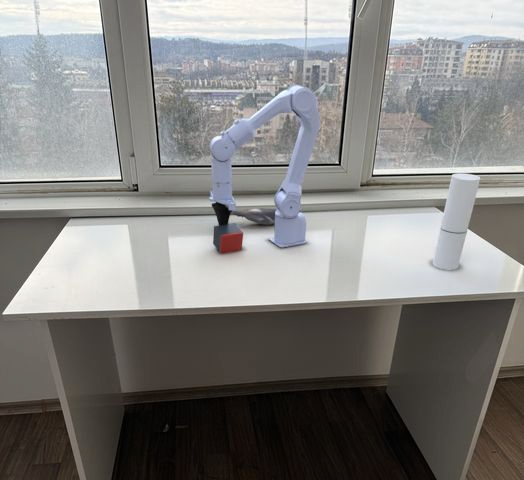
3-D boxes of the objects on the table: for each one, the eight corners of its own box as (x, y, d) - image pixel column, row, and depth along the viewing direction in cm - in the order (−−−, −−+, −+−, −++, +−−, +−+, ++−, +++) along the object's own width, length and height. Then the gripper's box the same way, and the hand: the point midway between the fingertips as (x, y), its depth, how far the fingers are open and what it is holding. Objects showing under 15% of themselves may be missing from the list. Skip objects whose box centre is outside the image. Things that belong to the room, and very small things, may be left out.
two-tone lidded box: (234, 222, 150) (243, 232, 147) (233, 240, 154) (241, 250, 151) (213, 226, 148) (221, 236, 144) (212, 243, 152) (220, 253, 148)
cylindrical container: (458, 262, 146) (480, 175, 132) (458, 271, 140) (480, 181, 127) (433, 258, 148) (452, 172, 134) (431, 267, 142) (451, 178, 128)
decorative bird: (291, 226, 170) (292, 211, 167) (219, 228, 167) (218, 214, 164) (287, 220, 175) (288, 206, 173) (217, 222, 172) (217, 208, 169)
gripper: (199, 177, 147) (202, 221, 154) (219, 189, 136) (220, 236, 143) (221, 174, 150) (222, 218, 157) (242, 186, 139) (242, 233, 146)
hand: (223, 227), depth 150 cm, fingers closed
